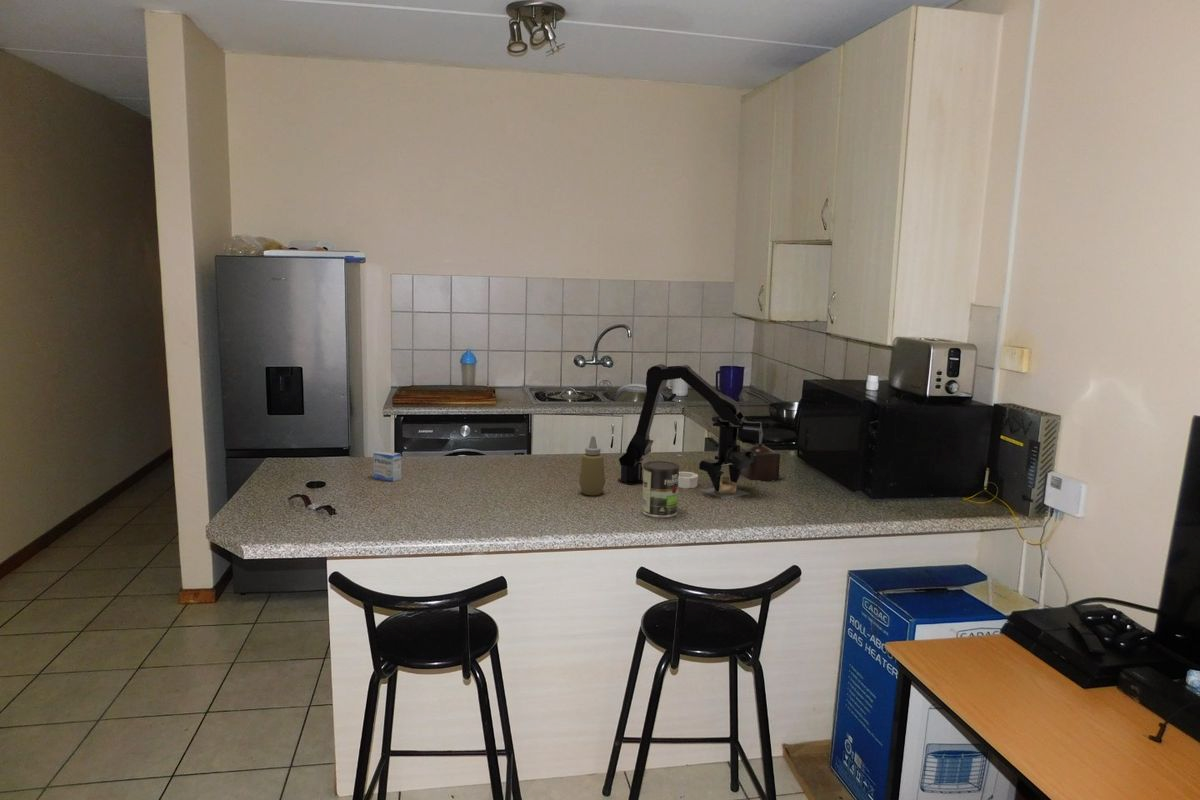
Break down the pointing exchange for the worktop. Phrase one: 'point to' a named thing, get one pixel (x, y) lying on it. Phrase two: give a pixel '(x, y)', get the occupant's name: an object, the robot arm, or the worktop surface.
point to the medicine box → (387, 466)
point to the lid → (726, 487)
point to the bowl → (687, 480)
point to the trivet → (738, 493)
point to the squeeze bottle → (592, 470)
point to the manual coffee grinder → (762, 463)
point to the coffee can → (660, 489)
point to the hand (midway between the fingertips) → (725, 489)
